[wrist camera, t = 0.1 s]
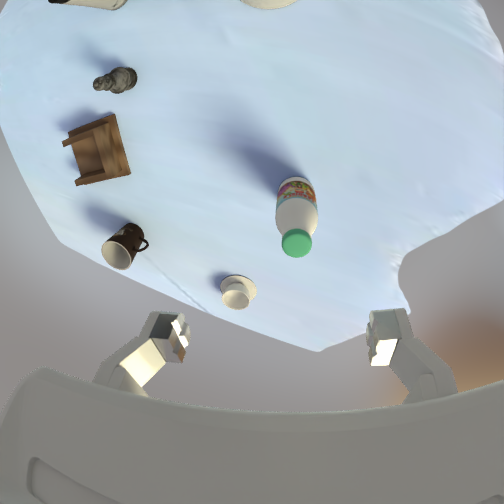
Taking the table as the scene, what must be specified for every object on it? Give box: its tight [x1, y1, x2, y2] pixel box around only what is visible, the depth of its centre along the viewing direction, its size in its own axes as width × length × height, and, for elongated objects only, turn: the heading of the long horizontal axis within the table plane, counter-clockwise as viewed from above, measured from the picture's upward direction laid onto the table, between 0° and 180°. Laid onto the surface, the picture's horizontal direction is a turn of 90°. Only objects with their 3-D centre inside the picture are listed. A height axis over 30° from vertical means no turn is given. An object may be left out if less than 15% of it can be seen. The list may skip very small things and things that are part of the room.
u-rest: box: [62, 114, 131, 186], centre depth 56 cm, size 15×15×6 cm
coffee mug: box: [102, 223, 149, 270], centre depth 67 cm, size 12×9×10 cm
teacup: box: [220, 275, 257, 310], centre depth 76 cm, size 10×10×5 cm
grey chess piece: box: [93, 67, 137, 94], centre depth 43 cm, size 6×6×12 cm
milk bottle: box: [275, 177, 318, 258], centre depth 51 cm, size 8×8×20 cm
